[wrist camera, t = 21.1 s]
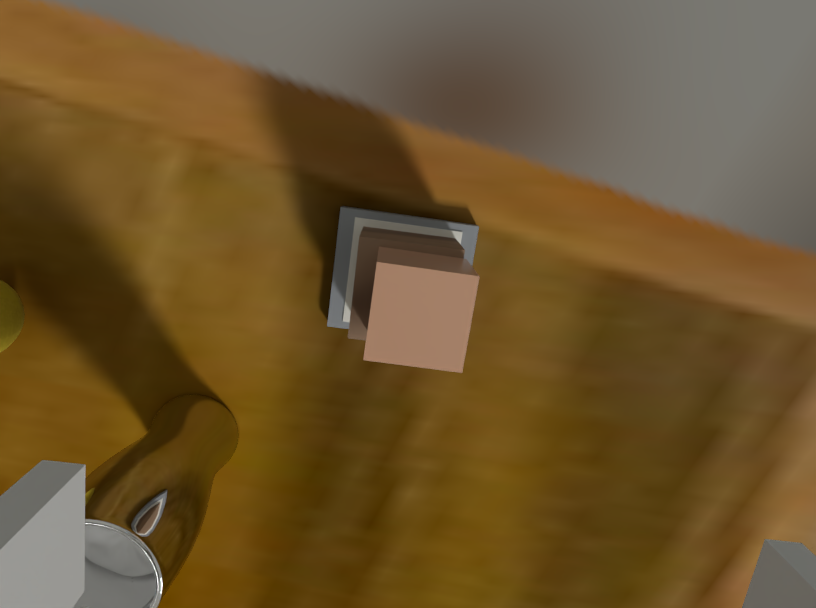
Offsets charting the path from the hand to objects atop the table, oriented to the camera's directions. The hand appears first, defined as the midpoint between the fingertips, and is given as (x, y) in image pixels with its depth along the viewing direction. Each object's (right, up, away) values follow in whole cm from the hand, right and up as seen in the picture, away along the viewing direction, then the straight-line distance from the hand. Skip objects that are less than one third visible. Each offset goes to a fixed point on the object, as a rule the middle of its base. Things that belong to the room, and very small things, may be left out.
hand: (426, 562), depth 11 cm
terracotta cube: (0, +5, +22) cm, 23 cm away
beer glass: (-16, -4, +30) cm, 34 cm away
